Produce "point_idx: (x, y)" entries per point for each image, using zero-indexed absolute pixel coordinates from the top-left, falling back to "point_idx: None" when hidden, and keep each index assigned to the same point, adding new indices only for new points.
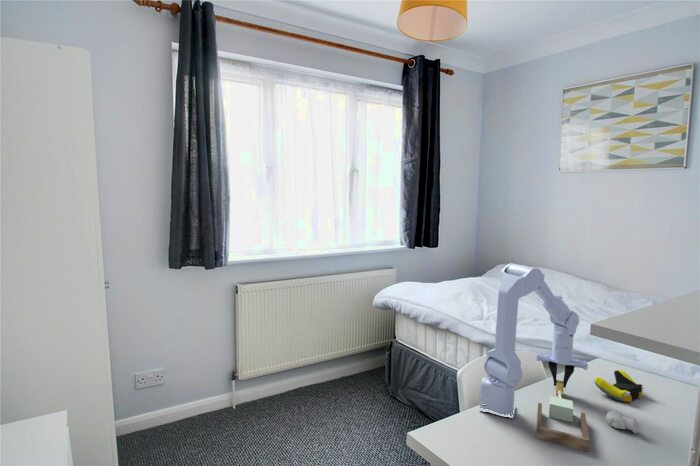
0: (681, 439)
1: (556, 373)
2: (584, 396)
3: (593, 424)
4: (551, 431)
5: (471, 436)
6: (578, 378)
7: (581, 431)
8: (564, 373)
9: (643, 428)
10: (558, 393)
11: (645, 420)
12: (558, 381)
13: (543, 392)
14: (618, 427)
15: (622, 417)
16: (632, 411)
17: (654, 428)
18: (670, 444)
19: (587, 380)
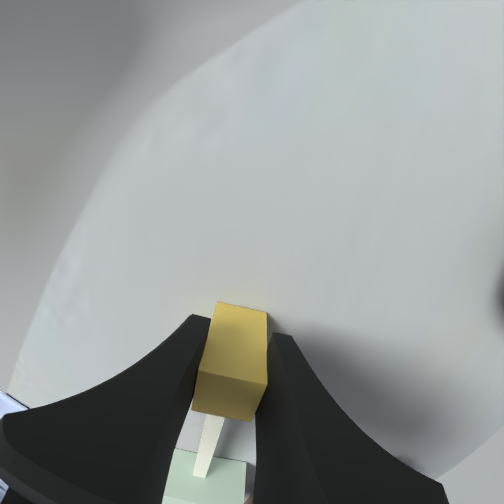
0: (482, 442)
1: (163, 488)
2: (405, 317)
3: None
4: None
5: None
6: (460, 34)
7: (246, 502)
8: (290, 426)
9: (444, 447)
10: (206, 417)
11: (487, 408)
12: (212, 394)
13: (132, 326)
14: None
15: None
16: (500, 373)
17: (471, 433)
18: (442, 468)
19: (499, 68)
